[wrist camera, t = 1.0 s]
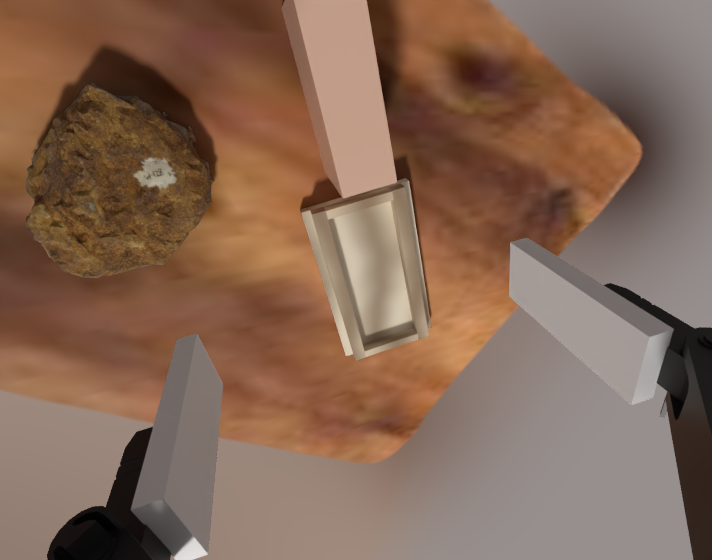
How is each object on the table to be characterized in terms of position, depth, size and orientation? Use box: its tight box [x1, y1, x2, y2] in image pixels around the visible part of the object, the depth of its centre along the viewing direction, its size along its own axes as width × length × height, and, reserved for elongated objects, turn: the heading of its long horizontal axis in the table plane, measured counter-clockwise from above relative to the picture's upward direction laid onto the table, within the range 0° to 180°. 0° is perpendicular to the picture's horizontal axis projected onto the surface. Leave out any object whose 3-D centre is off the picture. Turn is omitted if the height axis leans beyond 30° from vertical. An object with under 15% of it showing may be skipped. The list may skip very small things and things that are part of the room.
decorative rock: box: [26, 82, 215, 278], centre depth 29 cm, size 11×4×15 cm
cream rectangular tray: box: [300, 178, 431, 361], centre depth 38 cm, size 10×17×2 cm, turn 13°
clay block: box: [282, 0, 397, 198], centre depth 27 cm, size 12×4×8 cm, turn 13°
